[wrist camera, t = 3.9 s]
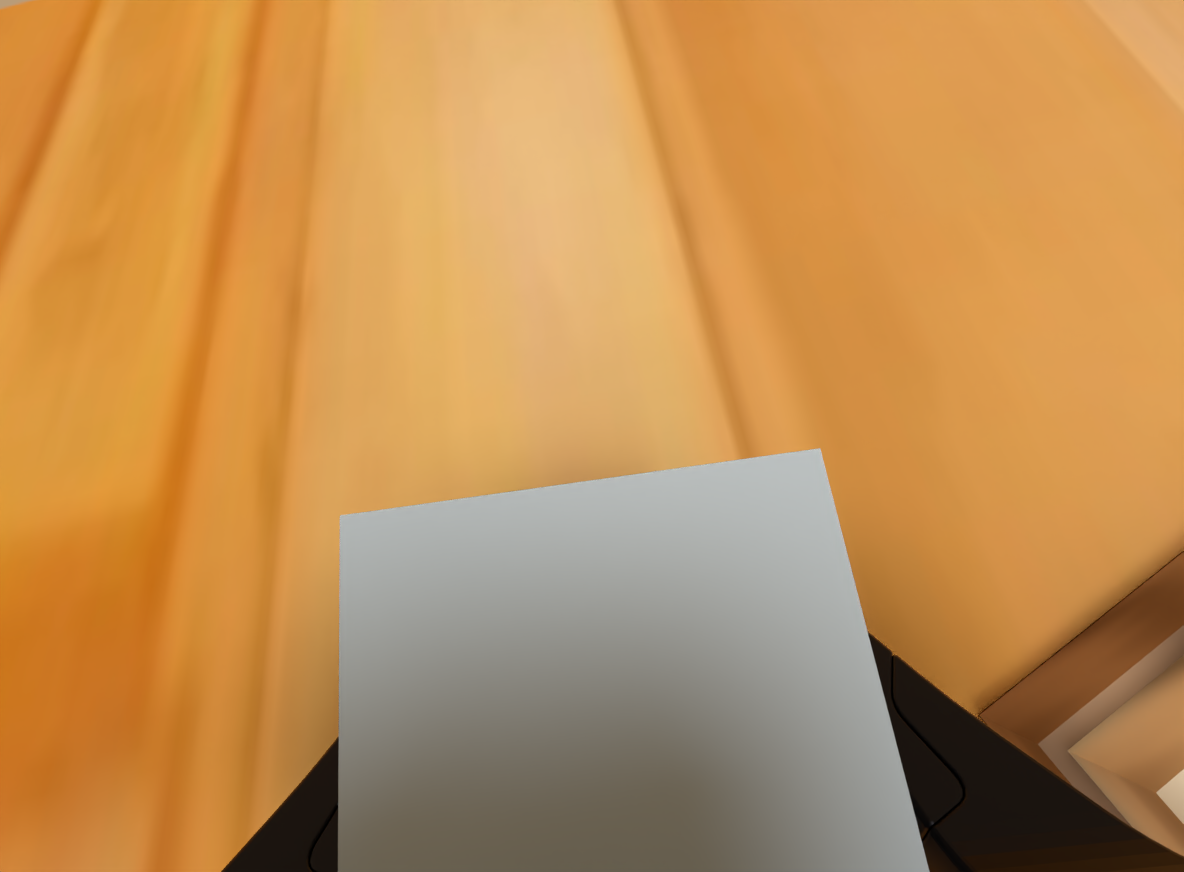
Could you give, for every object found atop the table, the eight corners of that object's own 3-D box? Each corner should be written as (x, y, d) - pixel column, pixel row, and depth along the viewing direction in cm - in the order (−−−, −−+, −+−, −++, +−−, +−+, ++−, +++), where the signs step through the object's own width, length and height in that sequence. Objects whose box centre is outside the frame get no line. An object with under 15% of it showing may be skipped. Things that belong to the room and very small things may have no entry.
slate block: (699, 655, 15) (988, 1103, 3) (564, 671, 15) (336, 1155, 3) (676, 517, 16) (820, 449, 4) (550, 534, 16) (339, 515, 4)
